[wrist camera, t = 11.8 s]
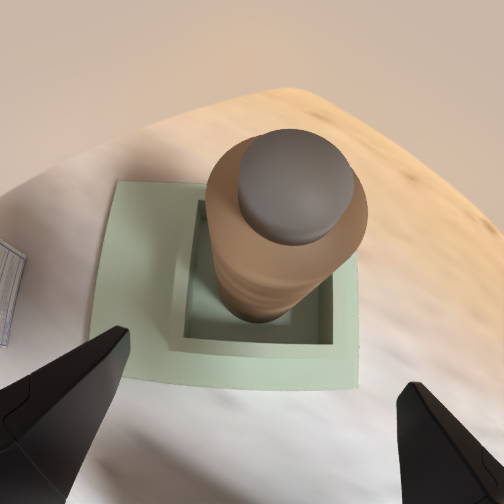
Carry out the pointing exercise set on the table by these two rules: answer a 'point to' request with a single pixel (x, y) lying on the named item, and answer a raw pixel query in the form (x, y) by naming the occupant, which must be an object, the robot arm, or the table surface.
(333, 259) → the pepper mill
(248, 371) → the sage tray
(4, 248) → the medicine box
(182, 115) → the table surface
